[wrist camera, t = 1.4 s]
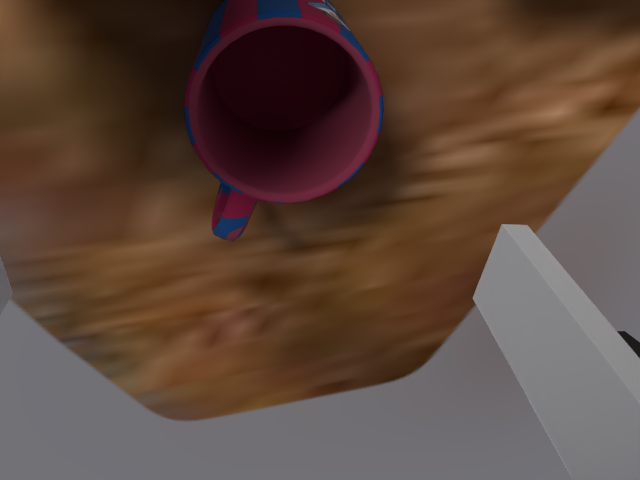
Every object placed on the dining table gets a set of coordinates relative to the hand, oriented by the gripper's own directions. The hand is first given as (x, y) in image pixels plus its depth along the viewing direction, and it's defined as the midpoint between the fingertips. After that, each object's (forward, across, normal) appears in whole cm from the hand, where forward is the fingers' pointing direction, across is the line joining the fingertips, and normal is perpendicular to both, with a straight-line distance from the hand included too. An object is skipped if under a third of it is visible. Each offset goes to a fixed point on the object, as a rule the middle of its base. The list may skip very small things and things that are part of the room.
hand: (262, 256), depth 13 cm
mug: (+12, 0, 0) cm, 12 cm away
